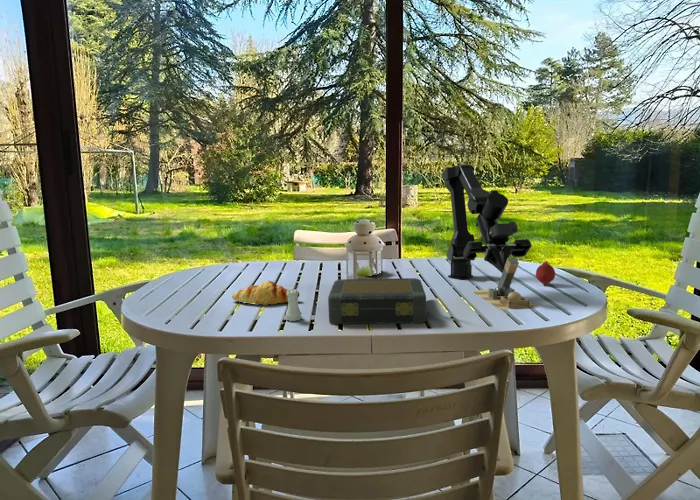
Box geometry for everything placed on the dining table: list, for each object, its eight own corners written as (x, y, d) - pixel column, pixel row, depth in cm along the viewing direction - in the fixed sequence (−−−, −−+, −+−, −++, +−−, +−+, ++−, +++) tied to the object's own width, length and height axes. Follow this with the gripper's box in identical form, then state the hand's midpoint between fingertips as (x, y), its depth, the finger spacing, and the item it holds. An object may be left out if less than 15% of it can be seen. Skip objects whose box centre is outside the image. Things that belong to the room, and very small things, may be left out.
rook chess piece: (285, 317, 131) (284, 288, 129) (302, 316, 131) (301, 287, 130) (285, 322, 126) (283, 292, 125) (302, 321, 126) (300, 291, 125)
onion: (556, 287, 153) (557, 262, 152) (537, 287, 154) (538, 262, 153) (552, 282, 159) (553, 259, 157) (534, 282, 160) (534, 259, 158)
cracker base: (471, 295, 146) (471, 283, 146) (505, 293, 148) (505, 281, 147) (499, 314, 127) (500, 300, 126) (539, 311, 128) (539, 298, 128)
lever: (493, 292, 139) (506, 257, 130) (504, 291, 140) (517, 256, 131) (500, 306, 135) (513, 271, 126) (511, 305, 136) (525, 270, 127)
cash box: (420, 302, 142) (420, 277, 140) (426, 324, 122) (426, 295, 120) (335, 303, 143) (334, 278, 142) (328, 325, 123) (327, 296, 122)
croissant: (230, 315, 146) (223, 296, 141) (238, 292, 154) (232, 273, 149) (299, 314, 143) (294, 294, 139) (303, 291, 151) (299, 271, 146)
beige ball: (504, 304, 130) (505, 292, 130) (511, 302, 133) (511, 289, 132) (517, 307, 128) (517, 294, 127) (523, 304, 130) (524, 291, 130)
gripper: (467, 213, 136) (482, 259, 127) (529, 210, 138) (548, 255, 129) (457, 237, 145) (470, 281, 136) (516, 234, 147) (532, 277, 138)
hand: (505, 273), depth 135 cm, fingers closed, pressing on lever
